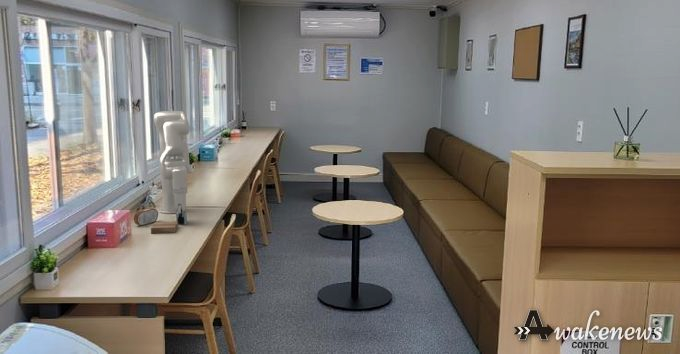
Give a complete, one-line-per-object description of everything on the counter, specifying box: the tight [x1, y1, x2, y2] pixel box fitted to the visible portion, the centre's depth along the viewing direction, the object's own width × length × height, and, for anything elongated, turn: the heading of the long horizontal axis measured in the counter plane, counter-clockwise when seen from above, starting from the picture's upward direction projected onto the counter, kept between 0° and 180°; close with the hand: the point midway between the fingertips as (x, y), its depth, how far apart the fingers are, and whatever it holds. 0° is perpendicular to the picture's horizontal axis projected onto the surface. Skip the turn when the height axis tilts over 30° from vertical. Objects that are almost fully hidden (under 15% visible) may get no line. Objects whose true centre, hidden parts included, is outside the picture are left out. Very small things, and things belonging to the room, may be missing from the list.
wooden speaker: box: [133, 207, 159, 227], centre depth 316 cm, size 15×3×8 cm, turn 149°
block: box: [175, 211, 188, 226], centre depth 317 cm, size 5×5×6 cm
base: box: [150, 221, 179, 235], centre depth 304 cm, size 12×12×3 cm
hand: (181, 222), depth 318 cm, fingers closed on block, 5 cm apart
